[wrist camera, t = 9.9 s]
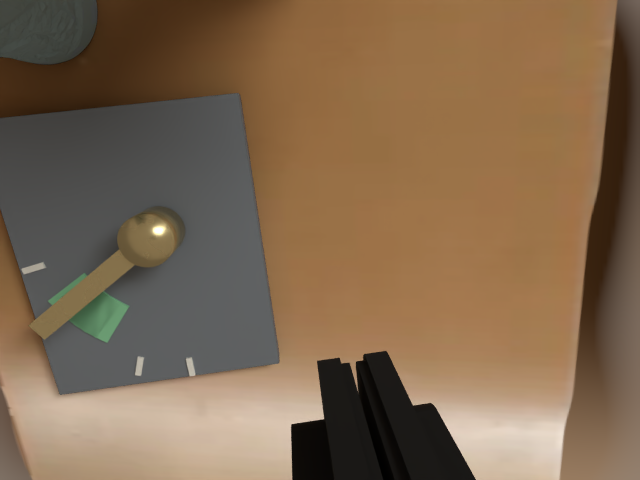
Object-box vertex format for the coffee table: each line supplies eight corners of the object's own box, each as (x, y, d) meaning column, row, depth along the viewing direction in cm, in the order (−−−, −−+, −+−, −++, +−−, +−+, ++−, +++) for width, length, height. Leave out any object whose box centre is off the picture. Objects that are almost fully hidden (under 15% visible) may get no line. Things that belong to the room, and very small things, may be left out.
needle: (161, 196, 33) (145, 204, 29) (195, 233, 34) (184, 245, 30) (42, 296, 34) (13, 316, 30) (78, 329, 35) (54, 352, 31)
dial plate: (-14, 121, 32) (-30, 120, 30) (240, 94, 33) (237, 92, 31) (68, 384, 38) (58, 396, 36) (279, 354, 39) (279, 364, 37)
